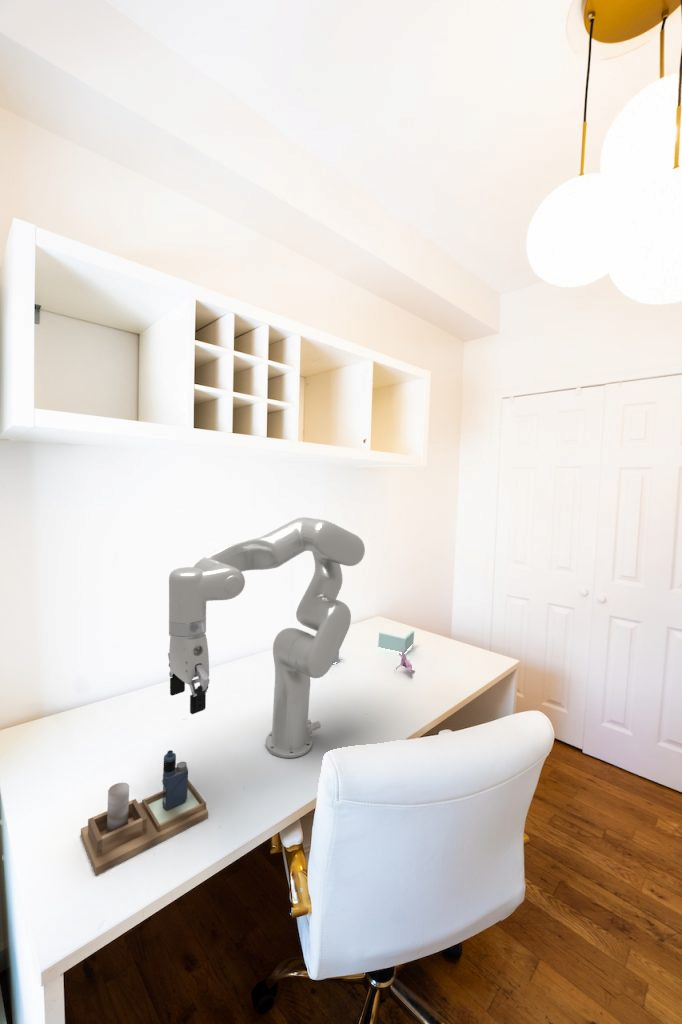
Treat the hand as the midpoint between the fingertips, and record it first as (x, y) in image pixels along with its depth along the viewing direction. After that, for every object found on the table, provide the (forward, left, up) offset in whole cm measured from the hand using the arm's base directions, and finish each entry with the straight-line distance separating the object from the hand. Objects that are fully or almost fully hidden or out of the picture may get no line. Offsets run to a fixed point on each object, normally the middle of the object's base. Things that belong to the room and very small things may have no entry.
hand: (187, 702), depth 94 cm
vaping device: (+3, +3, -20) cm, 21 cm away
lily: (-92, -11, -22) cm, 95 cm away
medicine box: (-75, -37, -22) cm, 86 cm away
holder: (+9, +3, -22) cm, 24 cm away
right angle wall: (-109, -30, -22) cm, 115 cm away
